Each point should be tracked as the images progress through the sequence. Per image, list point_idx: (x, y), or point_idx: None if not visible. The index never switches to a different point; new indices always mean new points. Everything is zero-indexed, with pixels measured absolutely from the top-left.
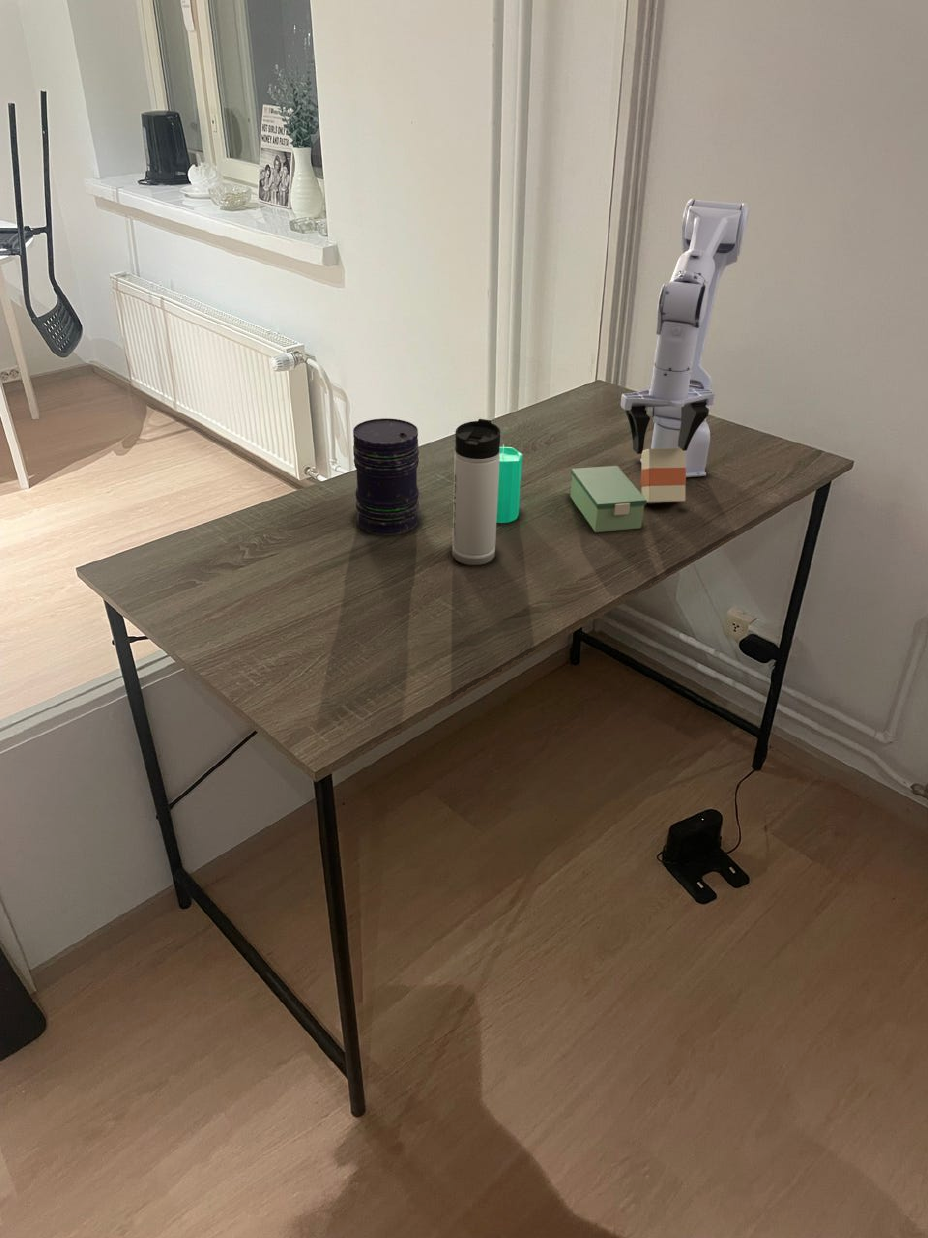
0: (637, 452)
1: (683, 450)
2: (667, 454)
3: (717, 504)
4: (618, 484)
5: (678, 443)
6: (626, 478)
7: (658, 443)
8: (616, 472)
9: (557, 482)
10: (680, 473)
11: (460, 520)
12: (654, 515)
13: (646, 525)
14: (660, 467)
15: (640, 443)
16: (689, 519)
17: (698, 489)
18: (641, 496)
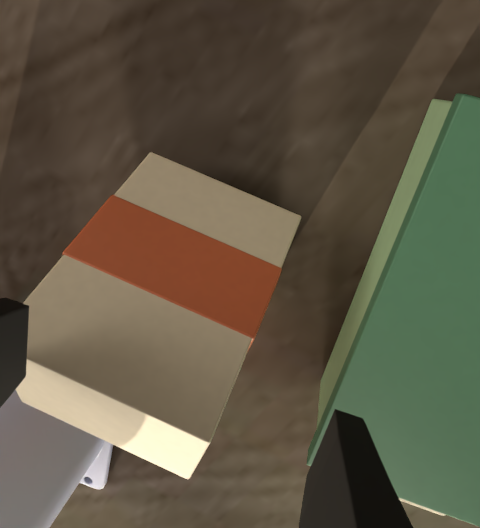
0: (366, 430)
1: (25, 305)
2: (119, 357)
3: (16, 143)
4: (452, 329)
5: (15, 383)
6: (362, 358)
7: (43, 500)
8: None
9: (441, 523)
10: (107, 242)
11: None
12: (292, 175)
13: (385, 114)
14: (193, 313)
15: (380, 478)
16: (181, 82)
17: (26, 266)
18: (450, 154)
